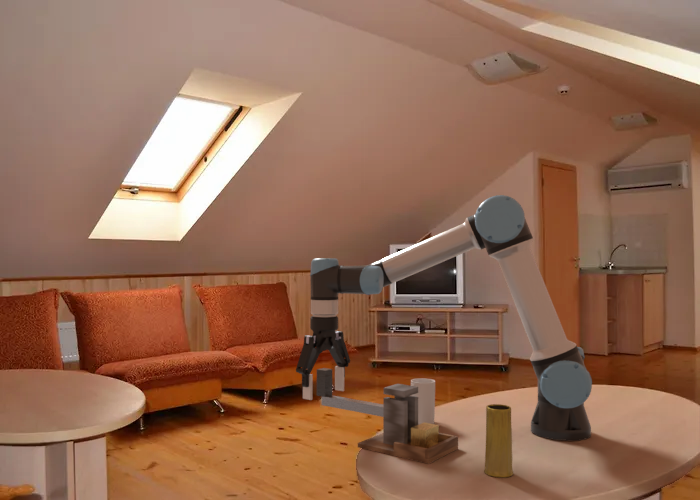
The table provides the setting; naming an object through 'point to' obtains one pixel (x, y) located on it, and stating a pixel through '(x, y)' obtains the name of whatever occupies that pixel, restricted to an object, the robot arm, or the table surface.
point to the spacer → (425, 435)
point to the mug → (425, 399)
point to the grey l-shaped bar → (340, 402)
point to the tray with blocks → (405, 429)
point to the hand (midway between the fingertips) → (324, 394)
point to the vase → (498, 441)
